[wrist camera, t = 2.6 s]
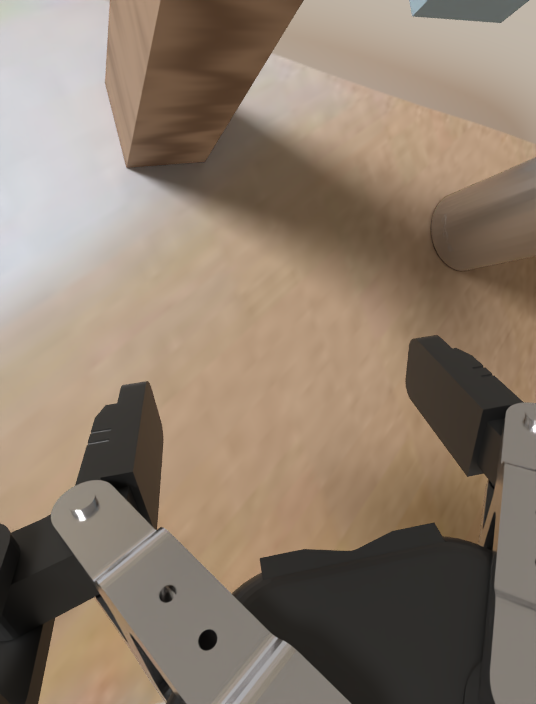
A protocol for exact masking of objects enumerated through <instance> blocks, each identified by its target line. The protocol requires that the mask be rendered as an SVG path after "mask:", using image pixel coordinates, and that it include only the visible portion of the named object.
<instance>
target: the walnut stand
mask: <svg viewBox="0 0 536 704" xmlns="http://www.w3.org/2000/svg"><path fill="white" fill-rule="evenodd" d="M302 2H303V0H110V8H109V25H108V42H107V59H106V76H105V84H106V88H107V92H108V96H109V100H110V104H111V108H112V112H113V116H114V120H115V124H116V128H117V132H118V136H119V140H120V144H121V148H122V152H123V156H124V160H125V164H126V168H131V167H144V166H157V165H170V164H183V163H196V162H205V161H206V159H207V157H208V156H209V154H210V153H211V151H212V149H213V148H214V146H215V144H216V143H217V141H218V139H219V138H220V136H221V135H222V133H223V131H224V130H225V128H226V126H227V125H228V123H229V122H230V120H231V118H232V117H233V115H234V113H235V112H236V110H237V108H238V107H239V105H240V104H241V102H242V100H243V99H244V97H245V95H246V94H247V92H248V90H249V89H250V87H251V86H252V84H253V82H254V81H255V79H256V77H257V76H258V74H259V72H260V71H261V69H262V68H263V66H264V64H265V63H266V61H267V59H268V58H269V56H270V54H271V53H272V51H273V50H274V48H275V46H276V45H277V43H278V41H279V40H280V38H281V36H282V34H283V33H284V31H285V30H286V28H287V27H288V25H289V23H290V22H291V20H292V18H293V17H294V15H295V14H296V12H297V10H298V9H299V7H300V5H301V4H302Z"/></svg>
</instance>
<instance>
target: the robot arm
mask: <svg viewBox="0 0 536 704" xmlns="http://www.w3.org/2000/svg"><path fill="white" fill-rule="evenodd" d="M431 233H432V240H433V243H434V247H435V249H436V251H437V253H438V255H439V256H440V258H441V259H442V260H443V261H444V262H445V263H446V264H447V265H448V266H450V267H451V268H453V269H456V270H459V271H467V270H471V269H476V268H481V267H486V266H490V265H496V264H501V263H505V262H510V261H515V260H520V259H524V258H529V257H534V256H536V157H535V158H533V159H531V160H529V161H526V162H524V163H522V164H519V165H517V166H515V167H512V168H510V169H508V170H505V171H503V172H501V173H499V174H496V175H494V176H492V177H489V178H487V179H485V180H482V181H480V182H478V183H475V184H473V185H471V186H468V187H466V188H464V189H462V190H459V191H457V192H455V193H453V194H450V195H448V196H446V197H444V198H443V199H442V200H441V201H440V202H439V203H438V205H437V206H436V208H435V211H434V213H433V217H432V222H431ZM406 389H407V393H408V395H409V397H410V399H411V401H412V402H413V403H414V405H415V406H416V407H417V409H418V410H419V412H420V413H421V414H422V416H423V417H424V418H425V420H426V421H427V422H428V424H429V425H430V427H431V428H432V429H433V431H434V432H435V433H436V435H437V436H438V437H439V439H440V440H441V441H442V443H443V444H444V446H445V447H446V448H447V450H448V451H449V452H450V454H451V455H452V456H453V458H454V459H455V460H456V462H457V463H458V465H459V466H460V467H461V469H462V470H463V471H464V473H465V474H466V475H467V477H468V476H473V475H478V474H483V473H484V474H485V475H486V477H487V478H488V481H487V484H486V489H485V497H484V505H483V512H482V520H481V528H480V536H479V543H478V544H475V543H472V542H469V541H465V540H462V539H458V538H451V537H442V535H441V534H440V532H439V530H438V528H437V527H436V525H435V523H430V524H425V525H420V526H415V527H410V528H405V529H401V530H396V531H392V532H390V533H388V534H386V535H384V536H382V537H380V538H378V539H376V540H374V541H372V542H370V543H368V544H366V545H364V546H362V547H360V548H358V549H356V550H353V551H333V550H309V549H303V550H298V551H293V552H288V553H283V554H278V555H273V556H269V557H264V558H260V564H261V570H262V573H260V574H258V575H256V576H254V577H253V578H251V579H250V580H248V581H247V582H245V583H244V584H242V585H241V586H240V587H239V588H238V589H236V590H235V591H234V592H233V593H232V594H231V593H230V592H229V591H228V590H227V589H226V588H225V587H224V586H223V585H222V584H221V583H220V582H219V581H218V580H217V579H216V578H215V577H214V576H213V575H212V574H211V573H210V572H209V571H208V570H207V569H206V568H205V567H204V566H203V565H202V564H201V563H200V562H199V561H198V560H197V559H196V558H195V557H194V556H193V555H192V554H191V553H190V552H189V551H188V550H187V549H186V548H185V547H184V546H183V545H182V544H181V543H180V542H179V541H178V540H177V539H176V538H175V537H174V536H173V535H172V534H171V533H170V532H169V531H167V530H166V529H165V528H162V527H160V528H159V529H158V530H157V522H158V508H159V494H160V481H161V467H162V453H163V430H162V424H161V420H160V416H159V413H158V409H157V406H156V403H155V399H154V396H153V392H152V389H151V386H150V383H149V382H148V381H146V382H140V383H133V384H127V385H122V386H121V390H120V394H119V398H118V402H117V404H111V405H106V406H105V407H104V408H103V409H102V410H101V412H100V413H99V414H98V415H97V416H96V418H95V420H94V423H93V426H92V430H91V434H90V437H89V440H88V445H87V447H86V450H85V454H84V457H83V461H82V464H81V468H80V471H79V474H78V478H77V481H76V485H75V486H74V487H72V488H71V489H69V490H68V491H66V492H65V493H64V494H63V495H62V496H61V497H60V498H59V499H58V500H57V502H56V503H55V505H54V507H53V509H52V512H51V514H50V515H49V516H47V517H45V518H43V519H41V520H39V521H37V522H35V523H32V524H30V525H28V526H26V527H23V528H21V529H19V530H16V531H14V532H12V533H10V531H9V530H8V528H7V527H6V526H5V525H3V524H0V704H38V701H39V696H40V691H41V686H42V681H43V676H44V671H45V666H46V661H47V656H48V651H49V646H50V641H51V636H52V631H53V626H54V621H55V617H57V616H59V615H61V614H63V613H65V612H67V611H69V610H70V609H72V608H74V607H76V606H78V605H80V604H82V603H84V602H86V601H88V600H89V599H91V598H93V597H94V598H95V600H96V601H97V602H98V604H99V605H100V607H101V608H102V610H103V611H104V613H105V614H106V615H107V617H108V618H109V620H110V621H111V623H112V624H113V625H114V627H115V628H116V630H117V631H118V633H119V634H120V635H121V637H122V638H123V640H124V641H125V643H126V644H127V645H128V647H129V648H130V650H131V651H132V653H133V654H134V656H135V657H136V659H137V661H138V662H139V664H140V665H141V667H142V669H143V670H144V672H145V673H146V675H147V676H148V678H149V679H150V681H151V683H152V684H153V685H154V687H155V688H156V690H157V691H158V693H159V694H160V696H161V697H162V698H163V700H164V701H165V703H166V704H536V403H524V402H523V401H521V400H520V399H519V398H518V397H517V396H516V395H515V394H514V393H513V392H512V391H510V390H509V389H508V388H507V387H506V386H505V385H504V384H503V383H502V382H501V381H499V380H498V379H497V378H496V377H495V376H492V373H491V372H490V371H488V370H487V369H486V368H483V365H482V364H481V363H480V362H479V361H478V360H476V359H475V358H474V357H473V356H472V355H470V354H468V353H466V352H464V351H461V350H459V349H457V348H453V349H452V348H451V347H450V346H449V345H448V344H447V343H446V342H445V341H444V340H443V339H442V338H440V337H439V336H437V335H434V336H428V337H422V338H415V339H412V340H411V342H410V344H409V352H408V362H407V371H406Z"/></svg>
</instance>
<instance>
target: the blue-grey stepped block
mask: <svg viewBox="0 0 536 704" xmlns="http://www.w3.org/2000/svg"><path fill="white" fill-rule="evenodd" d="M409 1H410V7H411V12H412V16H415V17H429V18H443V19H455V20H468V21H482V22H496V23H501V22H502V21H504V20H505V19H506V18H508V17H509V16H510V15H511V14H513V13H514V12H515V11H516V10H518V9H519V8H520V7H521V6H523V5H524V4H525V3H526V2H528V1H529V0H409Z"/></svg>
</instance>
